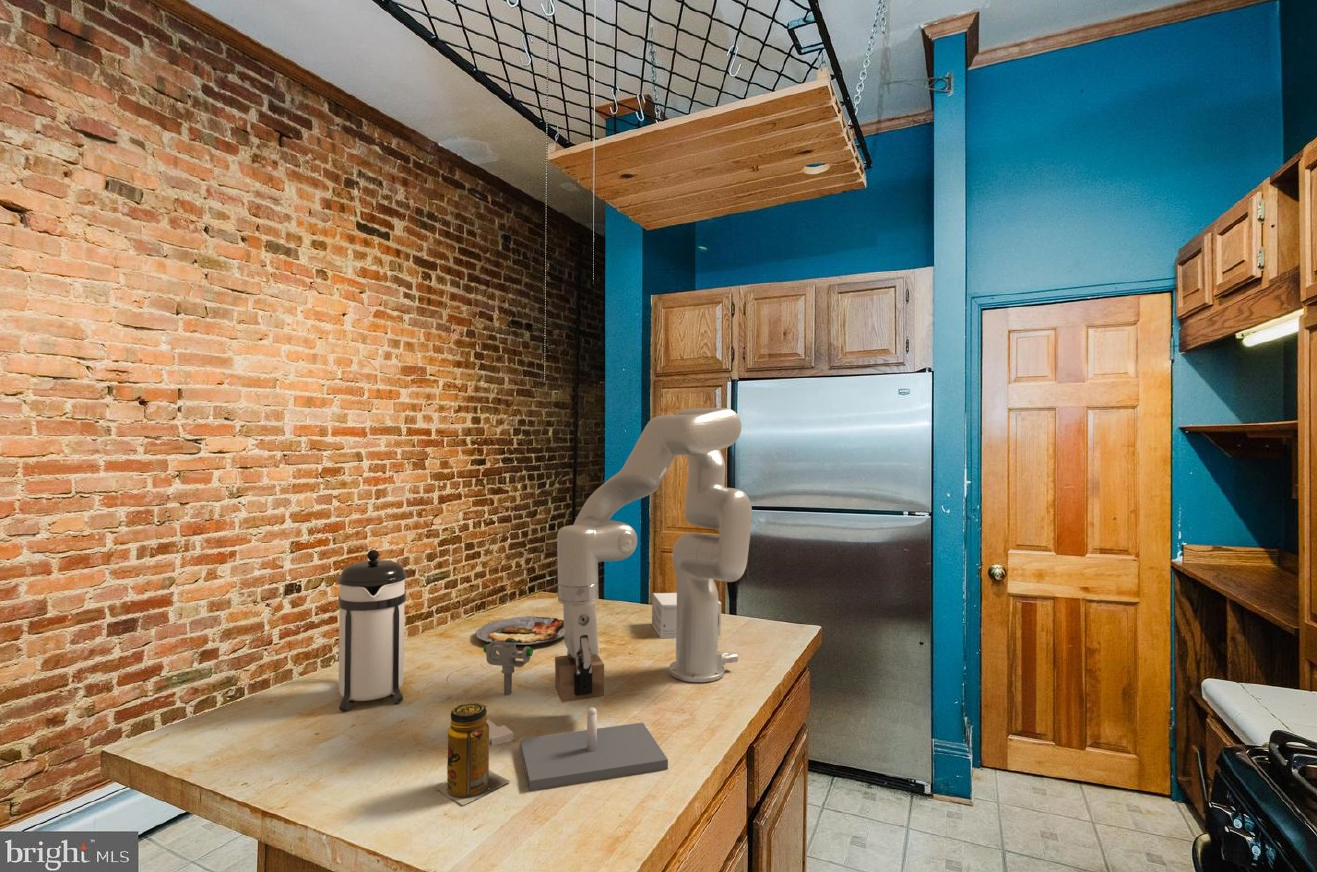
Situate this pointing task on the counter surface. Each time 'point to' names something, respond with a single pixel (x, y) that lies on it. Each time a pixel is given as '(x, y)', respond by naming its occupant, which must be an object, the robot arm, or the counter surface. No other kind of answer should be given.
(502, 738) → the corner connector
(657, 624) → the supplement box
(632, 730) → the pin board
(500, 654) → the mechanical component
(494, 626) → the food plate
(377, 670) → the coffee press
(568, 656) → the hollow block
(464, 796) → the condiment
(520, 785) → the counter surface
